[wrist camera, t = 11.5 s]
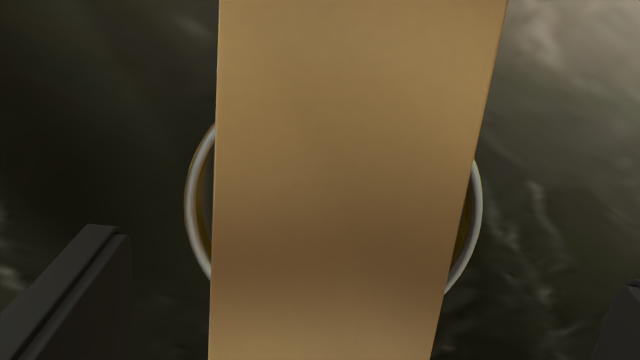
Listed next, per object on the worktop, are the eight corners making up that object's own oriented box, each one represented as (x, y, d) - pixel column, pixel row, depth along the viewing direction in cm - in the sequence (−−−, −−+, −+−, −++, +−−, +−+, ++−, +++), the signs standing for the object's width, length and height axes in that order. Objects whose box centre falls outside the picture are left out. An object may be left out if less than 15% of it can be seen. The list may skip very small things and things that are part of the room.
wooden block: (242, -46, 15) (220, -47, 12) (472, -21, 15) (512, -15, 12) (224, 336, 20) (206, 409, 17) (400, 351, 20) (415, 426, 17)
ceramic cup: (418, 224, 29) (461, 346, 20) (232, 217, 29) (190, 336, 20) (449, -35, 25) (524, -31, 15) (226, -44, 24) (167, -46, 15)
